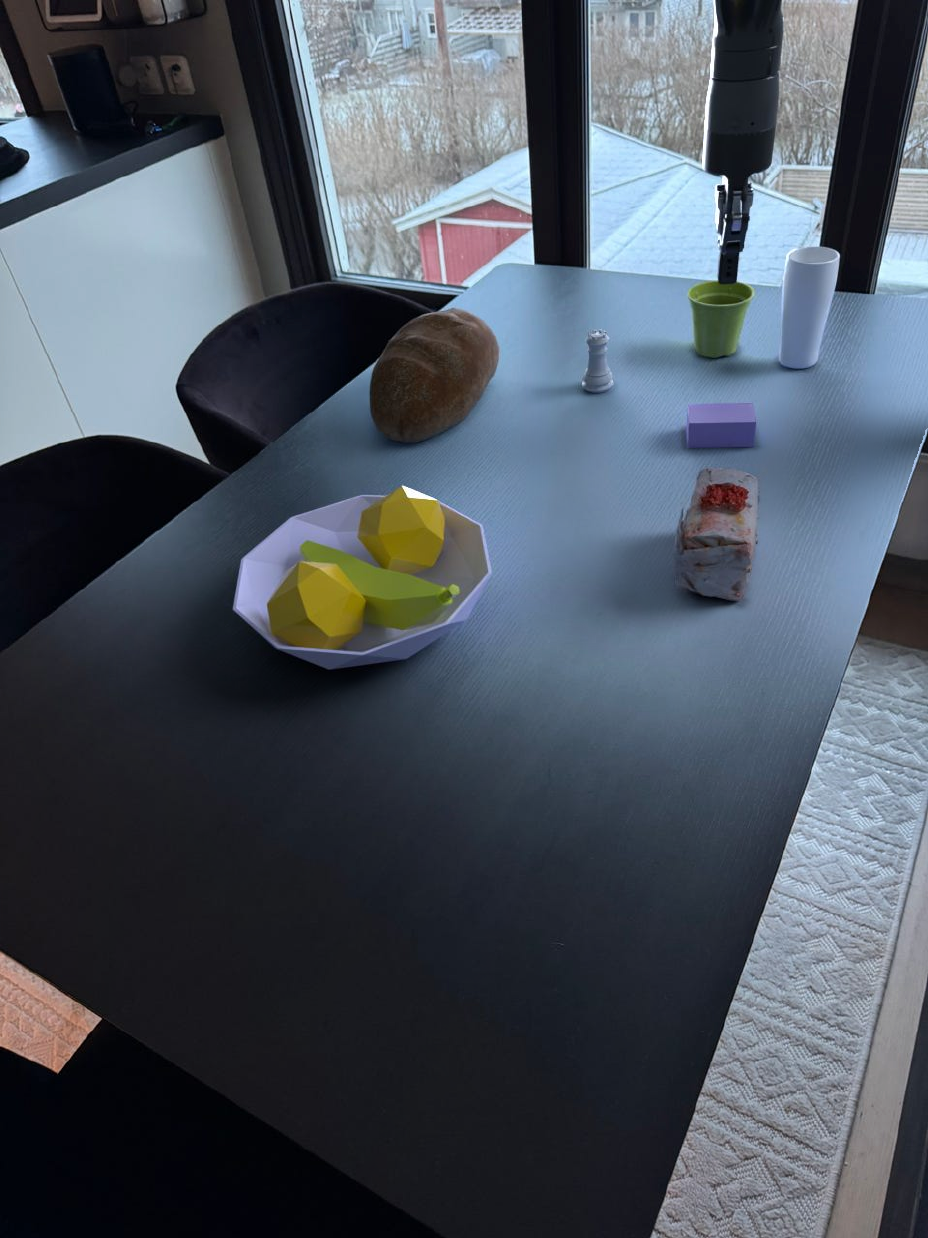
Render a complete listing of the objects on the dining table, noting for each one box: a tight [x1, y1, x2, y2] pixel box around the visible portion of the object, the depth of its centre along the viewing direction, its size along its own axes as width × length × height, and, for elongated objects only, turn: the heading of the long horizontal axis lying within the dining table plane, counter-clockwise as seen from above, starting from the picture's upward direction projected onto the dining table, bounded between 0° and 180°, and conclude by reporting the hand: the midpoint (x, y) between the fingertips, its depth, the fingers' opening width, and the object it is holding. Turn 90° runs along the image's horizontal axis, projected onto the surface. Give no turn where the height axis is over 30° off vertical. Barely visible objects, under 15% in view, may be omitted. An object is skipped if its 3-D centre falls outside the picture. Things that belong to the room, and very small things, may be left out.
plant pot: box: [686, 279, 756, 359], centre depth 129 cm, size 9×9×9 cm
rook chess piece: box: [581, 328, 614, 394], centre depth 124 cm, size 4×4×8 cm
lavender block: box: [685, 402, 757, 449], centre depth 112 cm, size 8×5×4 cm, turn 81°
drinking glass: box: [778, 246, 841, 370], centre depth 121 cm, size 7×7×15 cm
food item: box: [673, 467, 761, 602], centre depth 90 cm, size 14×8×10 cm, turn 164°
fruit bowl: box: [232, 485, 493, 671], centre depth 89 cm, size 28×27×11 cm
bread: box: [369, 307, 500, 443], centre depth 126 cm, size 16×29×11 cm, turn 162°
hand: (726, 280), depth 108 cm, fingers closed
